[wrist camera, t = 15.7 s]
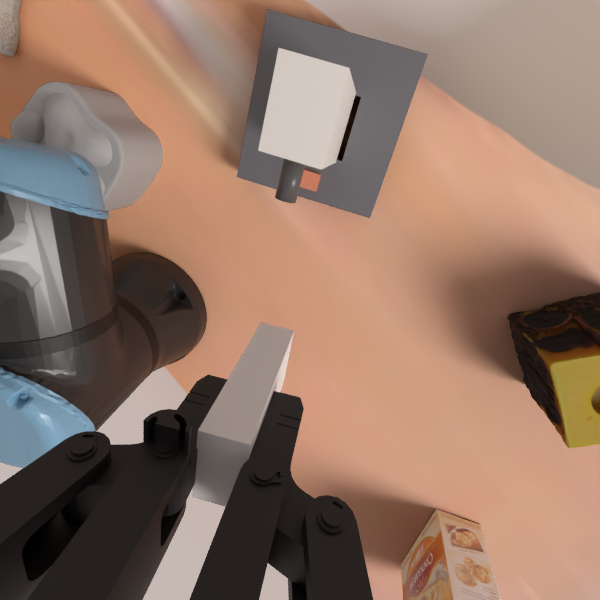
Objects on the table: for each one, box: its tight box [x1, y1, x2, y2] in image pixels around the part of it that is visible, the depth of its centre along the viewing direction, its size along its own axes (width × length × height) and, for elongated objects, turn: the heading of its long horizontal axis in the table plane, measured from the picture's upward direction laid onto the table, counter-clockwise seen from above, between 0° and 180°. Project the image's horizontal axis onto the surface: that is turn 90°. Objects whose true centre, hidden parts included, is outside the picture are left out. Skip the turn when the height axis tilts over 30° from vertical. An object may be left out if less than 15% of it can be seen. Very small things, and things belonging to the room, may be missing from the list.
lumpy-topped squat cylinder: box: [11, 81, 163, 211], centre depth 37 cm, size 10×13×9 cm
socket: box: [237, 9, 427, 218], centre depth 34 cm, size 14×14×4 cm
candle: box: [508, 293, 600, 448], centre depth 35 cm, size 10×10×10 cm
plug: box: [258, 48, 356, 203], centre depth 30 cm, size 9×4×14 cm, turn 165°
